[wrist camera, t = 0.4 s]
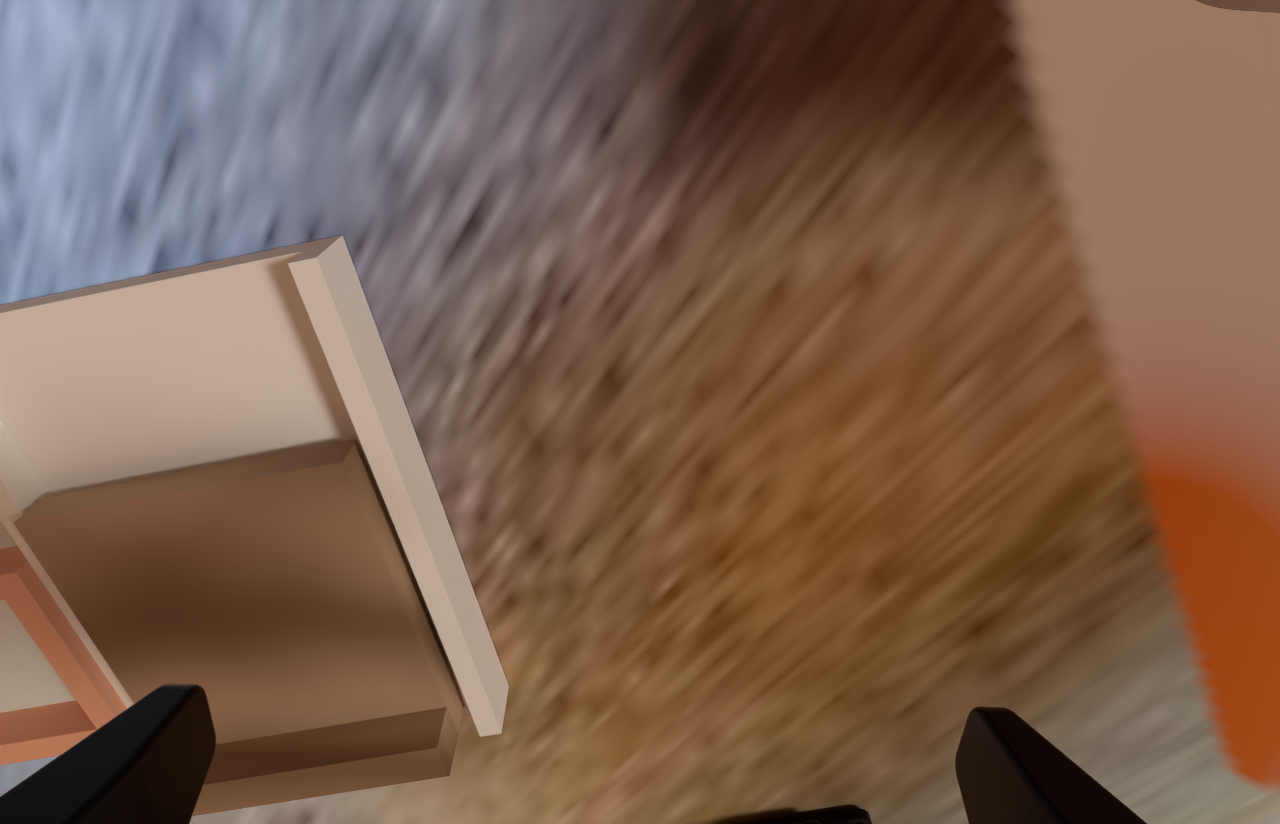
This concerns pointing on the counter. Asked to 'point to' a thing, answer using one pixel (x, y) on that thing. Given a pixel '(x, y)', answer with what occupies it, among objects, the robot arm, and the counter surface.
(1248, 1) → the mug
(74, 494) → the lid
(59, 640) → the board
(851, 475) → the counter surface
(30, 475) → the housing base
